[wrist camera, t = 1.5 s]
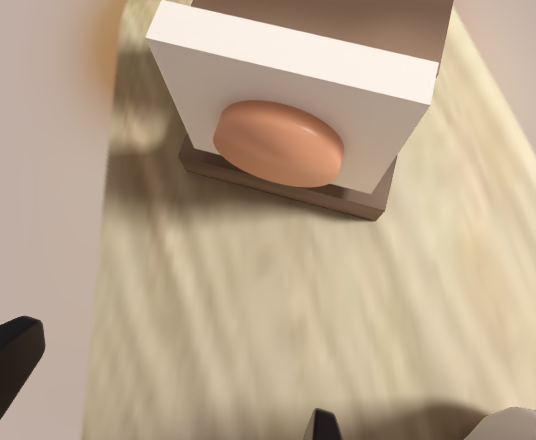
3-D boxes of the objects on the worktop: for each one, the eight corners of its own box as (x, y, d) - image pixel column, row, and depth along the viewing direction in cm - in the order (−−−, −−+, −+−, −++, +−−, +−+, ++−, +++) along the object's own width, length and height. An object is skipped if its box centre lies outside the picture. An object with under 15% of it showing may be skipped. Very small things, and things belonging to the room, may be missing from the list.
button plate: (366, 213, 20) (423, 134, 12) (187, 166, 20) (134, 63, 13) (377, 166, 20) (438, 62, 13) (203, 122, 21) (161, -1, 13)
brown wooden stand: (375, 221, 23) (417, 172, 16) (186, 170, 24) (150, 105, 17) (405, 89, 25) (453, -3, 18) (231, 48, 26) (214, -53, 19)
